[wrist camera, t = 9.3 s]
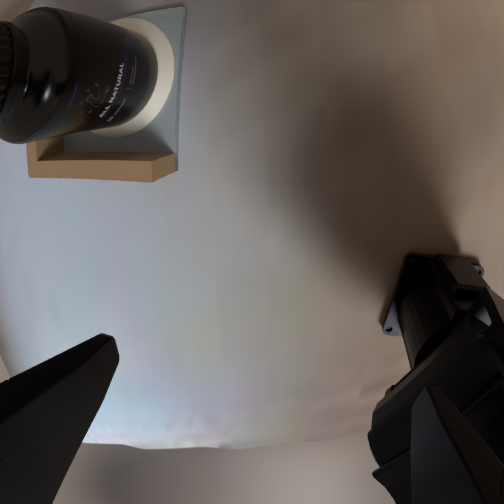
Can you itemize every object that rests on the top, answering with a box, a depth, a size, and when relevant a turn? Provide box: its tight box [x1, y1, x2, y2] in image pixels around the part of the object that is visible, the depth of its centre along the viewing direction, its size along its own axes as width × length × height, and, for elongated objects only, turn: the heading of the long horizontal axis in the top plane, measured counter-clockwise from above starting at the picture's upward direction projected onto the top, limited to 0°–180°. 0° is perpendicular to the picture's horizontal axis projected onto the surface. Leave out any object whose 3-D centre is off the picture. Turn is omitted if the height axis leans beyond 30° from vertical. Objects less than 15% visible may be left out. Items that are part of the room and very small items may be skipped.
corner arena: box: [26, 6, 187, 183], centre depth 16 cm, size 11×11×4 cm
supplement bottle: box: [0, 7, 158, 144], centre depth 11 cm, size 7×7×12 cm
